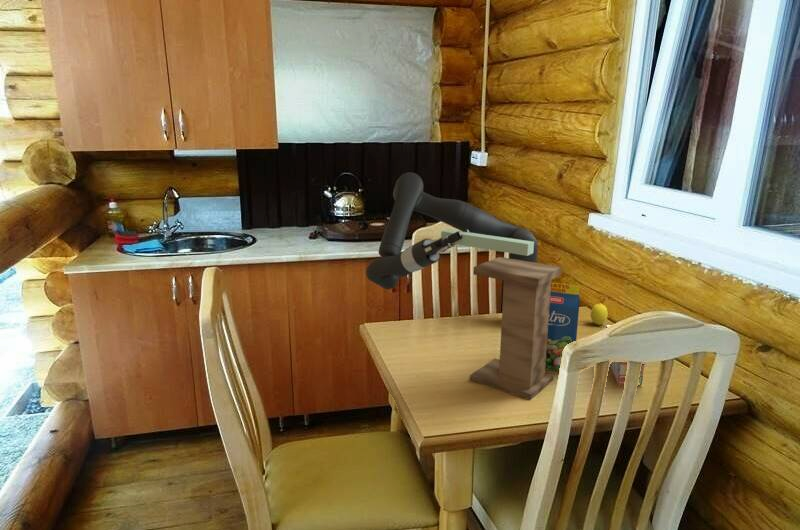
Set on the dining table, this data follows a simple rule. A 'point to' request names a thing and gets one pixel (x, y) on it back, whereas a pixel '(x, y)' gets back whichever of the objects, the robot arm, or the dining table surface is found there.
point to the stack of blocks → (623, 370)
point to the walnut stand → (520, 326)
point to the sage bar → (492, 242)
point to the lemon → (599, 314)
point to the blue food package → (561, 322)
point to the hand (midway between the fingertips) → (464, 233)
